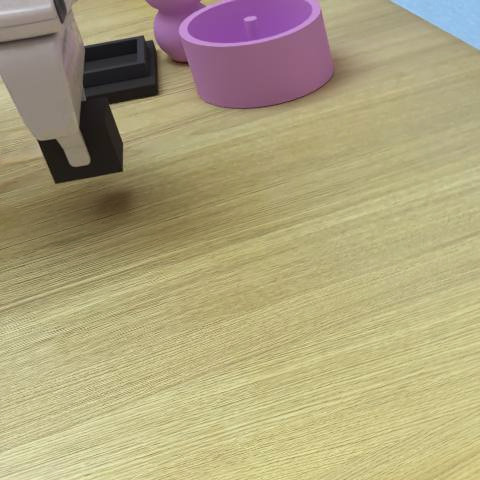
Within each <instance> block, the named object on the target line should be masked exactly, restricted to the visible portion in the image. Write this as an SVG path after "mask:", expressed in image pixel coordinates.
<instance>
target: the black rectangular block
mask: <svg viewBox="0 0 480 480" xmlns="http://www.w3.org/2000/svg"><path fill="white" fill-rule="evenodd" d="M79 129H80V131H81V134H82V136H83V139H84V138H85V140H86V143H87V146H88V149H89V151H90V154H91V158H90V163H89V164H88V165H84V166H78V167H74V166H71V165H70V164H69V161H68V159H67V156H66V154H65V152H64V149H63V148H62V147H61V145H60V144H59V142H58V141H57V140H56V139H50V140H43V141H40V140H38V139H36V142H37V144H38V146H39V149H40V151H41V153H42V156H43V158H44V160H45V163H46V166H47V168H48V170H49V173H50V175H51V178H52V180H53V182H54V184H55V185H58V184H65V183H69V182H70V183H71V182H75V181H80V180H85V179H91V178H96V177H102V176H106V175H112V174H117V173H118V174H119V173H123V172H124V142H123V139H122V136H121V134H120V131H119V127H118V125H117V123H116V120H115V117H114V114H113V111H112V109H111V106H110V104H109V103H108V100H107V97H103V98H97V99H92V100H86V101H81V108H80V121H79Z"/></svg>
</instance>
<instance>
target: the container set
mask: <svg viewBox="0 0 480 480" xmlns="http://www.w3.org/2000/svg"><path fill="white" fill-rule="evenodd" d="M144 1H145V2H146V3H147V4H148V5H149V6H150V7H152V8H154V9H155V10H158V11H157V12H156V14H155V16H154V20H153V36H154V39H155V41H156V44H157V45H158V47H159V48H160V50H161V51H162V52H164V53H165V54H166V55H167V56H169V57H170V58H172V60H174V61H176V62H180V63H188V67H189V69H190V74H191V76H192V79H193V82H194V86H195V89H196V92H197V94H198V96H199V97H200V99H201V100H203V101H204V102H206V103H208V104H211V105H213V106H216V107H222V108H229V109H230V108H231V109H253V108H254V109H255V108H262V107H269V106H275V105H279V104H283V103H287V102H290V101H294V100H297V99H299V98H302V97H304V96H307V95H309V94H310V93H312V92H315V91H316V90H319V89H320V88H321V87H323V86H324V85H325V84H327V83H328V81H329V80H330V79H331V78H332V76H333V75H334V71H335V67H334V66H335V65H334V62H333V57H332V52H331V47H330V43H329V39H328V34H327V30H326V29H327V28H326V24H325V20H324V15H323V10H322V6H321V4H320V2H319V1H318V0H221V1H217V2H214V3H212V4H210V5H206V4H204V3H202V2H201V1H202V0H144Z"/></svg>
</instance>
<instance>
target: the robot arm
mask: <svg viewBox="0 0 480 480" xmlns="http://www.w3.org/2000/svg"><path fill="white" fill-rule="evenodd" d="M78 1H79V0H0V78H1V80H2V82H3V84H4V86H5V88H6V90H7V93H8V94H9V96H10V98H11V101H12V102H13V104H14V106H15V108H16V110H17V112H18V114H19V116H20V118H21V120H22V122H23V123H24V125H25V127H26V128H27V129H28V131H29V132H30V133H31V135H32V136H33V137H34V138H35V139H36V140H37V139H38V140H40V141H43V140H50V139H56V140H57V141H58V142H59V144H60V145H61V147H62V148H63V149H64V152H65V154H66V156H67V159H68V161H69V164H70V165H71V166H74V167H78V166H84V165H88V164H89V163H90V158H91V154H90V151H89V149H88V146H87V143H86V140H85V138H84V139H83V136H82V134H81V131H80V129H79V121H80V108H81V101H86V97H85V92H84V88H83V70H84V57H85V48H84V46H85V44H84V40H83V37H82V34H81V30H80V29H79V26H78V23H77V21H76V19H75V15H74V11H73V8H72V7H73V5H74V4H76V3H77V2H78Z"/></svg>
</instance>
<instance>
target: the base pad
mask: <svg viewBox="0 0 480 480" xmlns="http://www.w3.org/2000/svg"><path fill="white" fill-rule="evenodd" d="M84 48H85V57H84V70H83V88H84V92H85V97H86V100H92V99H97V98H103V97H107V100H108V103H109V105H111V104H116V103H121V102H126V101H131V100H138V99H142V98H147V97H153V96H159V93H160V92H159V79H158V77H159V76H158V59H157V48H156V45H155V42H154V39H150V40H146V38H145V35H142V34H141V35H136V36H132V37H126V38H120V39H116V40H115V39H114V40H110V41H104V42H98V43H93V44H87V45H84Z"/></svg>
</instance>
